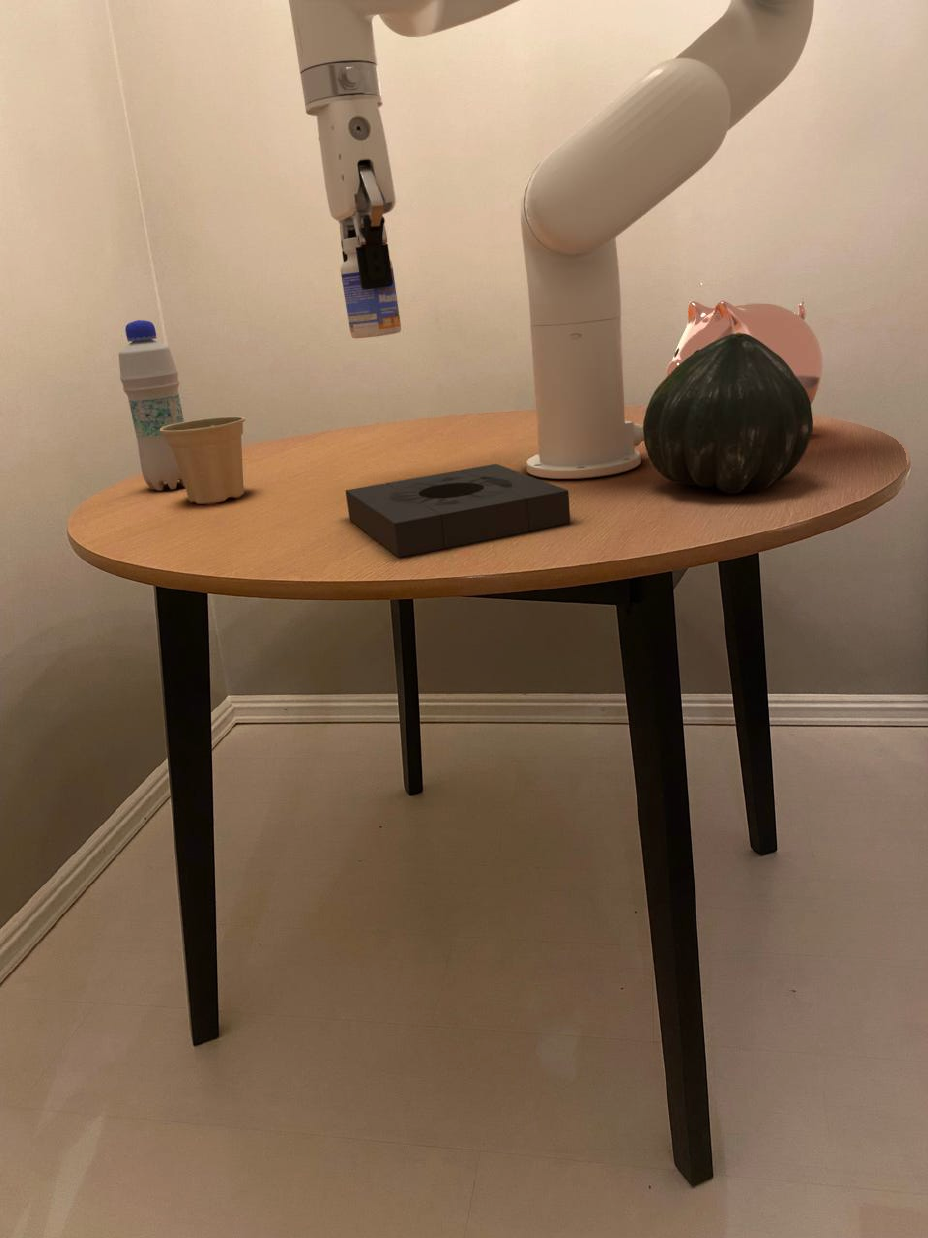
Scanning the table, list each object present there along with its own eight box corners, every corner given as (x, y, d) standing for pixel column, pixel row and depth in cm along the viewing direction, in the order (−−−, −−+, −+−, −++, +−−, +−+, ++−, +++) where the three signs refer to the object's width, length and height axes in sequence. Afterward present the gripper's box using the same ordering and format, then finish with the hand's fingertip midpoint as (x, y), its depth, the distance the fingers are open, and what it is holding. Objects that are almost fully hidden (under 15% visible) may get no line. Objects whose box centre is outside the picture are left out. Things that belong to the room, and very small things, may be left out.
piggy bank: (641, 441, 115) (637, 305, 110) (768, 420, 120) (770, 288, 114) (708, 460, 102) (706, 305, 96) (849, 436, 106) (855, 286, 100)
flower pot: (170, 498, 111) (154, 424, 108) (249, 484, 114) (236, 412, 111) (180, 513, 103) (164, 433, 100) (265, 497, 106) (252, 420, 103)
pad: (498, 492, 97) (496, 463, 96) (570, 523, 83) (568, 490, 82) (349, 520, 92) (345, 490, 91) (398, 558, 78) (394, 523, 77)
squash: (683, 411, 100) (652, 308, 88) (831, 415, 92) (820, 303, 80) (648, 523, 95) (610, 430, 83) (801, 537, 88) (784, 437, 76)
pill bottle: (393, 335, 96) (378, 233, 93) (343, 340, 97) (328, 240, 94) (408, 330, 101) (395, 233, 97) (361, 335, 102) (346, 239, 99)
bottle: (210, 480, 119) (178, 315, 112) (174, 493, 113) (139, 320, 106) (169, 480, 122) (136, 319, 115) (133, 492, 116) (95, 324, 109)
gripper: (402, 69, 85) (428, 281, 91) (359, 106, 100) (383, 286, 106) (321, 74, 82) (353, 291, 89) (289, 111, 98) (319, 294, 104)
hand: (369, 286), depth 97 cm, fingers closed on pill bottle, 5 cm apart
